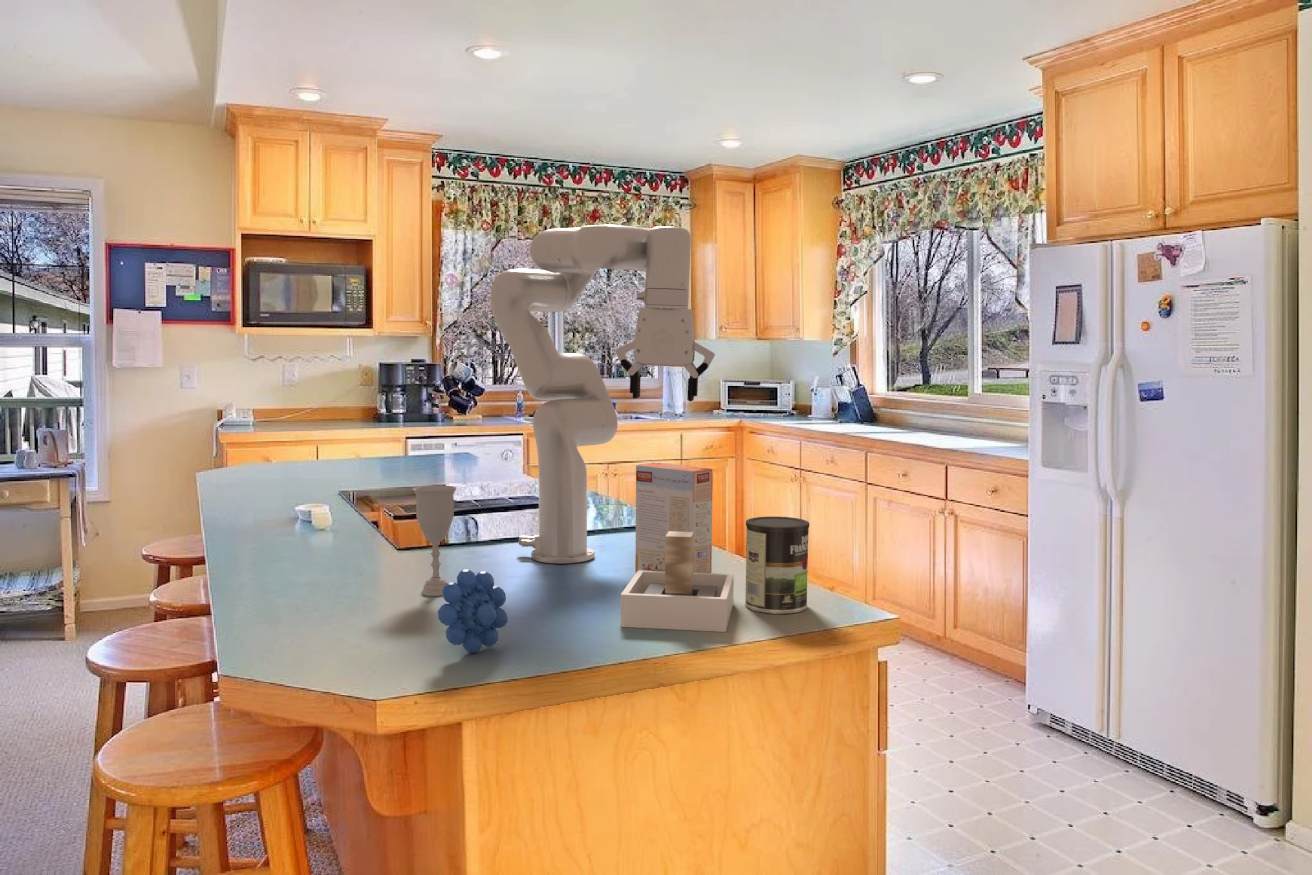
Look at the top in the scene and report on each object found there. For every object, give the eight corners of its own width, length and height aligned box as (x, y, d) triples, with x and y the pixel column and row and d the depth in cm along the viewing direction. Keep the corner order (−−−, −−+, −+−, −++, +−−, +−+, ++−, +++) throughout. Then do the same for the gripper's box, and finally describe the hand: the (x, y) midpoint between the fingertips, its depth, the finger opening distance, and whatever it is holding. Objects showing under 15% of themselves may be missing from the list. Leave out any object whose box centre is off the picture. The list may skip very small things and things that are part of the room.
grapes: (460, 670, 129) (459, 580, 128) (428, 659, 133) (427, 572, 132) (526, 649, 138) (526, 565, 136) (495, 639, 142) (494, 558, 141)
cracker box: (713, 583, 176) (714, 467, 174) (691, 589, 172) (692, 470, 170) (656, 570, 186) (657, 460, 184) (634, 575, 181) (634, 463, 179)
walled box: (620, 626, 149) (620, 594, 148) (637, 599, 164) (638, 570, 164) (726, 631, 146) (726, 599, 146) (733, 603, 162) (733, 574, 162)
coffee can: (817, 603, 163) (819, 519, 161) (791, 618, 154) (793, 529, 153) (761, 594, 168) (762, 513, 167) (733, 608, 160) (734, 522, 158)
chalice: (419, 599, 164) (418, 492, 162) (410, 589, 170) (408, 487, 168) (462, 594, 167) (461, 489, 165) (451, 585, 173) (450, 484, 171)
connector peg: (664, 611, 154) (665, 536, 152) (668, 604, 158) (668, 531, 156) (690, 612, 153) (691, 537, 152) (692, 605, 157) (693, 532, 156)
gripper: (612, 298, 167) (610, 398, 169) (714, 301, 164) (709, 403, 166) (622, 299, 174) (619, 395, 176) (719, 302, 171) (715, 399, 173)
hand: (663, 399), depth 171 cm, fingers open, 9 cm apart
